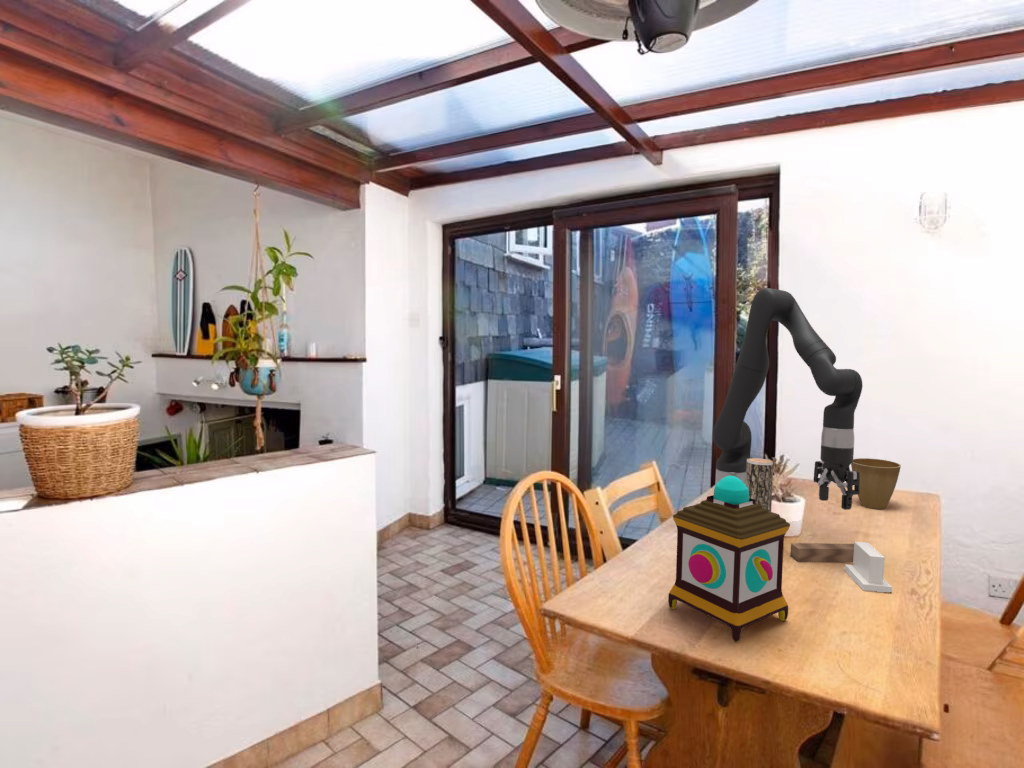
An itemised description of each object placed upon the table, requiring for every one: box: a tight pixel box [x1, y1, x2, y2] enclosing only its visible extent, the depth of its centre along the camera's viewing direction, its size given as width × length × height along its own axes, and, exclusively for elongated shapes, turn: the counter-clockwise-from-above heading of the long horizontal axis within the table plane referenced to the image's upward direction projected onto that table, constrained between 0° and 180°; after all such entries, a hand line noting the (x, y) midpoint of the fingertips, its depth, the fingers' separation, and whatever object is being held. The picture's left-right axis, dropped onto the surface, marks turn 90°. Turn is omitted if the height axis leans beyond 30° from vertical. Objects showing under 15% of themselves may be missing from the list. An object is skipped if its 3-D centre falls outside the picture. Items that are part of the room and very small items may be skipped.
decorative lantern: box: [667, 476, 791, 643], centre depth 117 cm, size 20×20×30 cm
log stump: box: [746, 457, 774, 512], centre depth 156 cm, size 7×7×25 cm
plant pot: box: [850, 457, 902, 510], centre depth 197 cm, size 15×15×16 cm
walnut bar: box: [789, 542, 854, 564], centre depth 148 cm, size 20×4×4 cm, turn 90°
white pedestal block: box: [844, 541, 893, 593], centre depth 135 cm, size 6×12×8 cm, turn 167°
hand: (834, 504), depth 147 cm, fingers open, 8 cm apart
